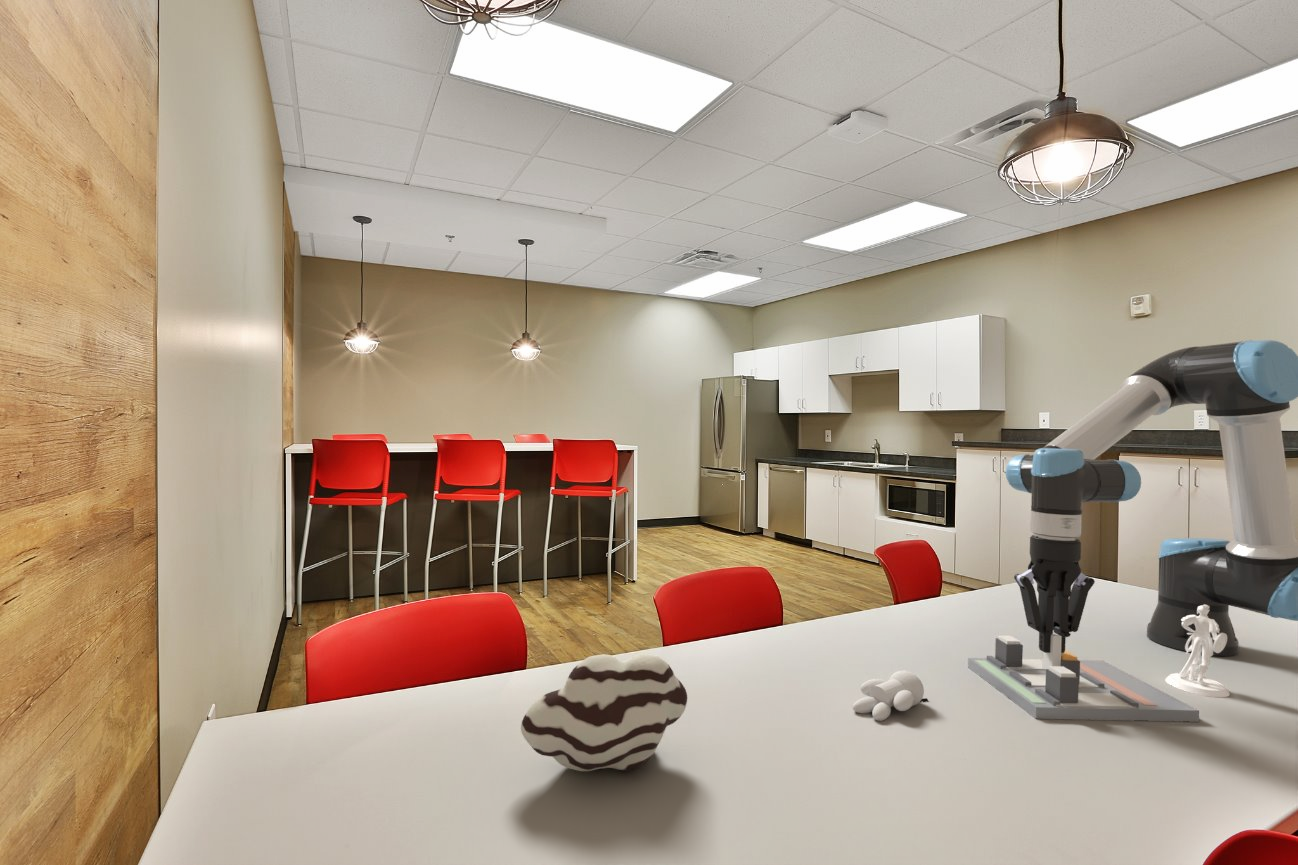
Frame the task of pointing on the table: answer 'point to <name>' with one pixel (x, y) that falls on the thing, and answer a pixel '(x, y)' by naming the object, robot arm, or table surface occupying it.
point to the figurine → (1206, 646)
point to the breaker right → (1062, 684)
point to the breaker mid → (1071, 663)
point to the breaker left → (1009, 651)
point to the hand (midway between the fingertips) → (1051, 670)
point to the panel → (1083, 693)
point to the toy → (890, 695)
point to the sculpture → (606, 713)
